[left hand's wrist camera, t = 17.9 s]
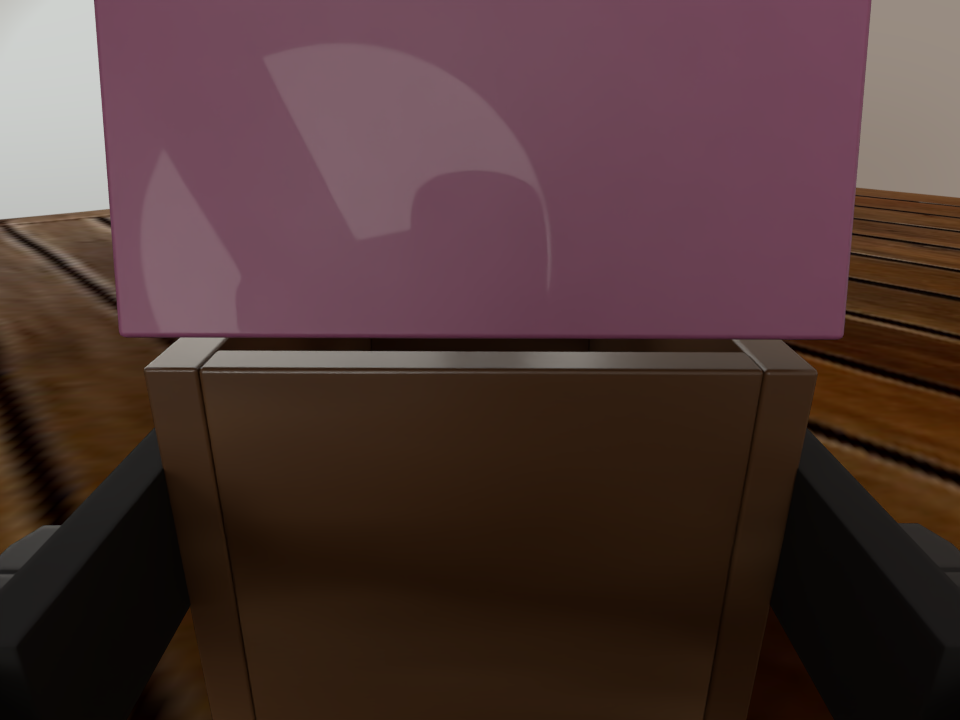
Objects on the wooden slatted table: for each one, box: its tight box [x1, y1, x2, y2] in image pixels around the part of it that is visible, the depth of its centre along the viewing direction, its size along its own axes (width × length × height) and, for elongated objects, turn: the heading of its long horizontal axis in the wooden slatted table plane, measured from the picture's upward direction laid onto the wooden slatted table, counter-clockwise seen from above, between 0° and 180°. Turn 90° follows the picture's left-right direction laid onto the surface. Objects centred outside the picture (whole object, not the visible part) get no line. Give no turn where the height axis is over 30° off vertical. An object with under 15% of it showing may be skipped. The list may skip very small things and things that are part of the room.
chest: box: [144, 338, 817, 720], centre depth 19 cm, size 16×10×9 cm, turn 0°
